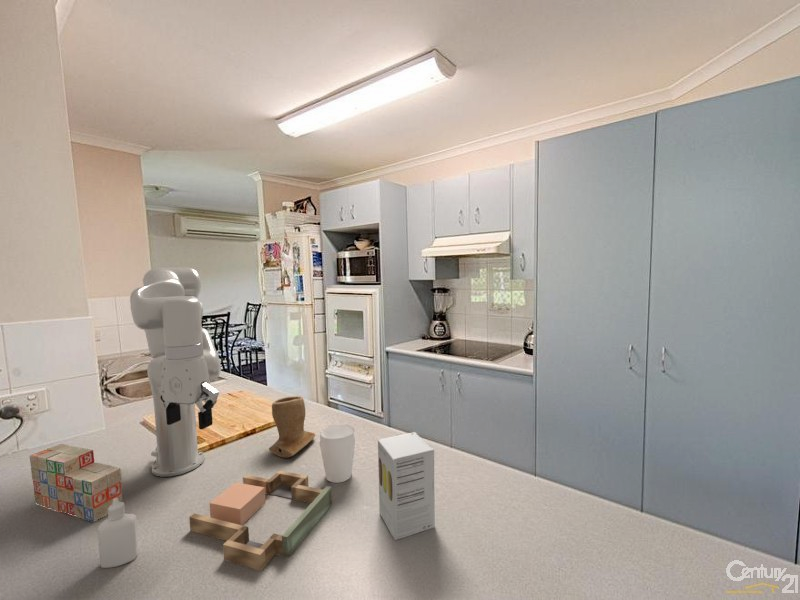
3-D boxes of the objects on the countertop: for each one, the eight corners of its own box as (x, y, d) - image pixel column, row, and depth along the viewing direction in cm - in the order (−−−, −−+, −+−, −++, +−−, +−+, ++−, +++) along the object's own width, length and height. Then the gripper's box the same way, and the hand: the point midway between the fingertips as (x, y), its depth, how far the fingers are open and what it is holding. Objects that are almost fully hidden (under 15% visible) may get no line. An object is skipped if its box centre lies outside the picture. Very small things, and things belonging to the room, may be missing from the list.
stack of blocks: (124, 506, 84) (120, 455, 83) (93, 524, 78) (88, 469, 77) (65, 489, 91) (61, 442, 90) (33, 504, 85) (28, 454, 84)
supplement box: (378, 512, 79) (376, 438, 78) (416, 501, 83) (414, 430, 82) (394, 542, 71) (392, 459, 69) (436, 527, 74) (435, 448, 73)
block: (210, 520, 78) (209, 503, 78) (236, 498, 86) (236, 482, 86) (241, 527, 76) (240, 509, 76) (265, 503, 84) (264, 487, 84)
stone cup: (288, 434, 120) (286, 390, 119) (320, 438, 116) (318, 392, 115) (257, 456, 105) (255, 406, 104) (293, 462, 102) (290, 410, 101)
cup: (349, 487, 89) (347, 440, 88) (315, 484, 91) (313, 437, 90) (360, 468, 98) (359, 425, 97) (329, 465, 100) (327, 423, 99)
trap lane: (172, 544, 71) (171, 525, 71) (258, 477, 94) (257, 462, 94) (274, 574, 64) (273, 553, 63) (340, 493, 87) (339, 477, 86)
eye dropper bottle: (117, 550, 70) (112, 491, 69) (143, 551, 69) (138, 492, 69) (96, 568, 66) (90, 505, 65) (124, 570, 65) (118, 507, 64)
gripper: (141, 353, 82) (146, 427, 83) (199, 357, 76) (205, 436, 77) (171, 347, 89) (176, 415, 90) (227, 350, 83) (231, 422, 84)
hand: (189, 424), depth 84 cm, fingers open, 9 cm apart
